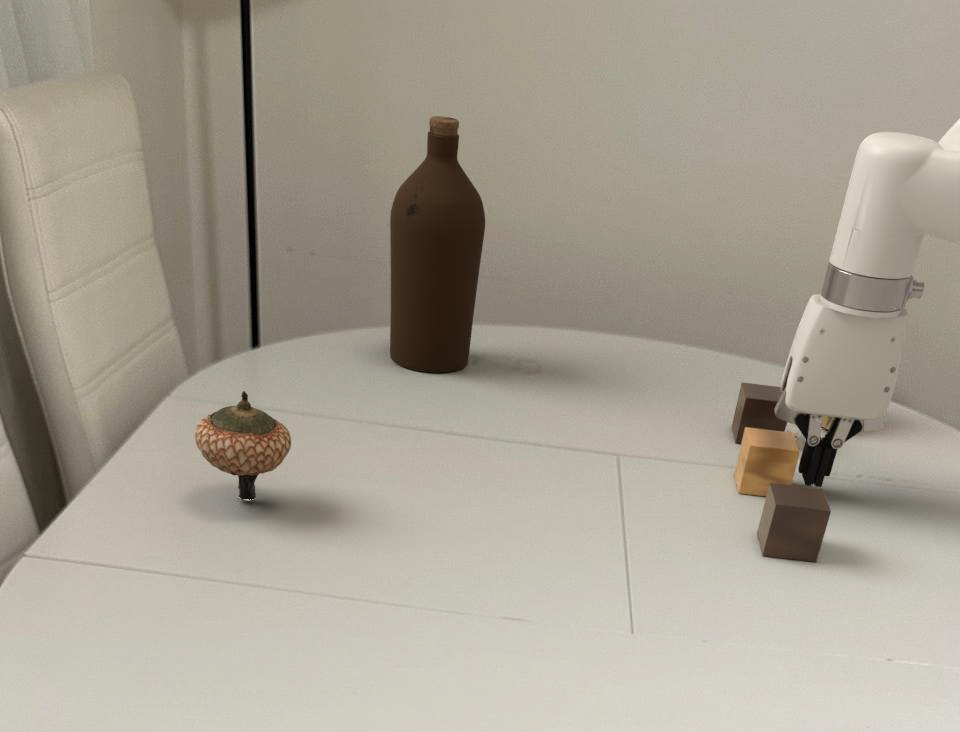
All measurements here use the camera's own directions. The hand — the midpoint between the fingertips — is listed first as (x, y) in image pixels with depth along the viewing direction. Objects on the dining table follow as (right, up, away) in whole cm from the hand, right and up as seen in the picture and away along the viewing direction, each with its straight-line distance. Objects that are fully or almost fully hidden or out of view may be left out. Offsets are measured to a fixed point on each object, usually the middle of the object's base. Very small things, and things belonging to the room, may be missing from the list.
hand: (811, 480), depth 123 cm
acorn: (-55, -6, -13) cm, 57 cm away
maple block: (-5, 0, +1) cm, 5 cm away
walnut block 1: (-3, +8, +12) cm, 15 cm away
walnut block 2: (-5, -9, -10) cm, 15 cm away
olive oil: (-40, +21, +22) cm, 50 cm away
